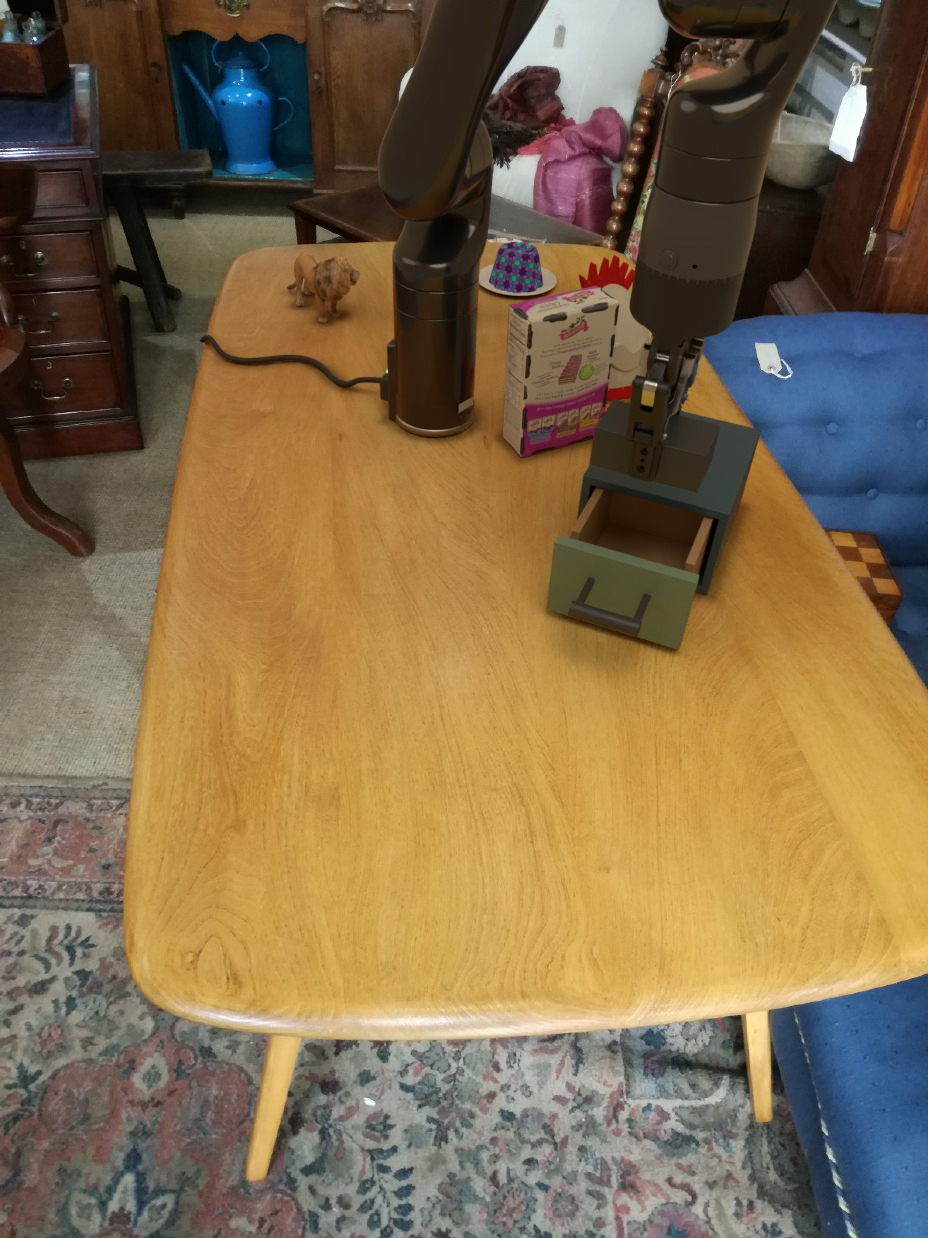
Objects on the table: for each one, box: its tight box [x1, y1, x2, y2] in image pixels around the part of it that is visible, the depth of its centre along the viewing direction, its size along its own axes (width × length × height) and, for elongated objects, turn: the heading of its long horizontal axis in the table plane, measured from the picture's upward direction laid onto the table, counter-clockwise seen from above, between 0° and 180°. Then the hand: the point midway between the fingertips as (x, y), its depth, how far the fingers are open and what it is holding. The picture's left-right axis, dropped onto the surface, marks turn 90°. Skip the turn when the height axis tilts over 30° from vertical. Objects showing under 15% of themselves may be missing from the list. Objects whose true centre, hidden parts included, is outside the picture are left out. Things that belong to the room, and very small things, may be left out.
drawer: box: [546, 487, 717, 651], centre depth 84 cm, size 19×12×8 cm, turn 157°
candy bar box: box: [502, 286, 620, 458], centre depth 103 cm, size 11×5×16 cm, turn 117°
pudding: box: [479, 241, 558, 297], centre depth 138 cm, size 12×12×5 cm
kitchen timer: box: [578, 254, 651, 402], centre depth 115 cm, size 14×14×15 cm
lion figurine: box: [286, 252, 361, 324], centre depth 128 cm, size 15×5×9 cm, turn 44°
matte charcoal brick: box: [589, 399, 720, 493], centre depth 75 cm, size 9×5×4 cm, turn 66°
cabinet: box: [576, 398, 762, 596], centre depth 93 cm, size 16×14×10 cm
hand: (651, 458), depth 76 cm, fingers closed on matte charcoal brick, 5 cm apart
